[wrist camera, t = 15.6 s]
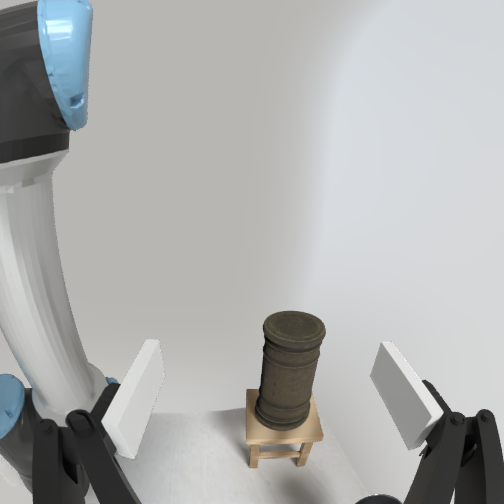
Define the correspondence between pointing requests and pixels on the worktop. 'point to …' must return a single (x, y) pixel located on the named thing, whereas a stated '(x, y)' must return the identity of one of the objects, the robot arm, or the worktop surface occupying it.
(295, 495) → the worktop surface
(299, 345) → the container
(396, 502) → the wine glass
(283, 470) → the worktop surface
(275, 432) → the stool
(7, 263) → the robot arm
